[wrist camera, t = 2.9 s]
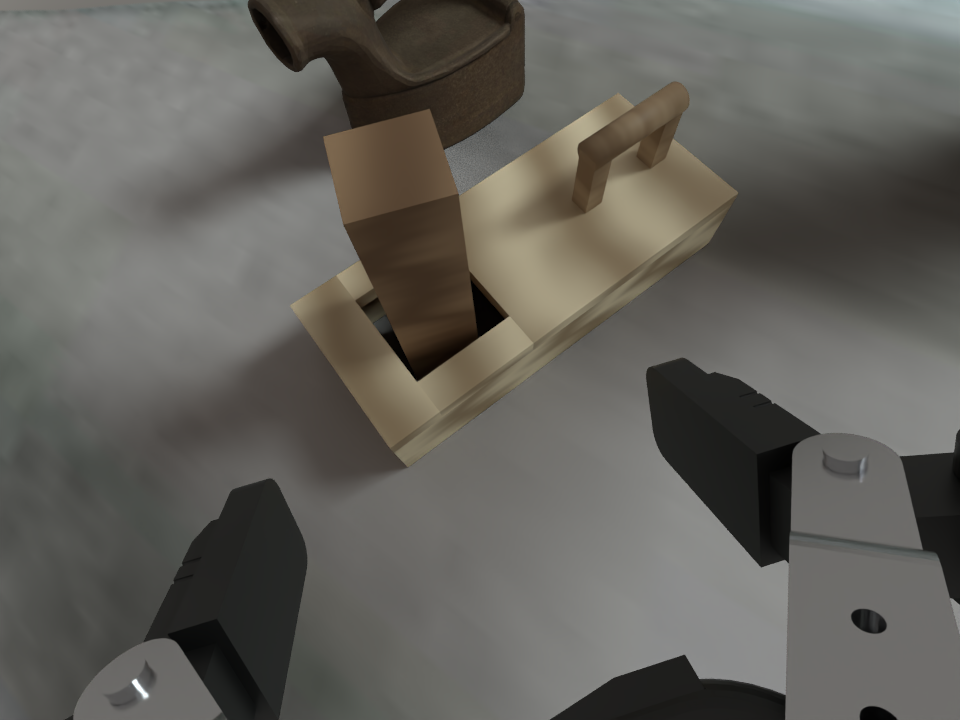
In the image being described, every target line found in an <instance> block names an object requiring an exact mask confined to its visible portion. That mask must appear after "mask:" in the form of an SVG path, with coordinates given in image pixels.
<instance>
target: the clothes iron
mask: <svg viewBox="0 0 960 720" xmlns="http://www.w3.org/2000/svg"><path fill="white" fill-rule="evenodd" d="M385 1H386V0H249V1H248V8H249V11H250V14H251V17H252V20H253V22H254V24H255V25H256V27H257V29H258V31H259V32H260V34H261V36H262V37H263V39H264V41H265V42H266V44H267V46H268V47H269V48H270V50H271V51H272V52H273V53H274V55H275V56H276V57H277V58H278V59H279V60H280V61H281V62H282V63H283V64H284V65H285V66H286V67H287V68H289V69H290V70H292V71H294V72H299V71H302V70H303V68H304V67H305V66H306V65H307V64H308V63H309V62H310V61H312V60H314V59H317V58H322V57H324V58H325V59H326V60H327V61H328V63H329V65H330V67H331V68H332V70H333V72H334V74H335V76H336V78H337V80H338V82H339V83H340V85H341V87H342V96H343V101H344V104H345V107H346V110H347V113H348V116H349V119H350V124H351V127H352V129H354V128H358V127H362V126H366V125H370V124H373V123H377V122H381V121H385V120H389V119H393V118H397V117H400V116H404V115H408V114H412V113H416V112H420V111H424V110H427V109H430V111H431V114H432V117H433V120H434V123H435V126H436V129H437V132H438V135H439V138H440V141H441V143H442V146H443V149H446V148H448V147H450V146H452V145H454V144H456V143H458V142H460V141H462V140H464V139H466V138H468V137H469V136H471V135H473V134H474V133H476V132H477V131H479V130H480V129H482V128H483V127H485V126H486V125H488V124H489V123H491V122H492V121H494V120H495V119H496V118H497V117H499V116H500V115H501V114H502V113H504V112H505V111H506V110H507V109H509V108H510V107H511V106H512V105H513V104H515V103H516V102H517V101H518V100H519V99H520V98H521V97H522V95H523V92H524V85H525V71H524V66H525V14H524V8H523V7H522V5H521V4H520V3H519V2H518V0H400V1H399V2H398V3H396V4H395V5H393V6H392V7H391V8H390V9H389V10H388V11H387V12H386V13H384V14H383V15H382V16H381V17H380V18H379V19H378V20H377V21H376V22H375V19H374V10H376V9H378V8H380V7H381V6H382V5H383V4H384V3H385Z"/></svg>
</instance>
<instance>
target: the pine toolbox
mask: <svg viewBox="0 0 960 720" xmlns="http://www.w3.org/2000/svg"><path fill="white" fill-rule="evenodd" d="M689 101H690V100H689V94H688V92H687V90H686V88H685V87H684V86H683V85H682V84H681V83H679V82H671V83H670V84H668V85H667V86H665V87H664V88H662V89H661V90H659V91H658V92H656V93H655V94H653V95H652V96H650V97H649V98H647V99H646V100H644V101H643V102H641V103H639V104H638V105H636V106H633V105H632V104H631V103H630V102H628V101H627V100H626V99H625V98H624V97H622V96H621V95H620V94H619V93H617V94H616V95H614V96H613V97H611V98H610V99H608V100H607V101H605V102H604V103H602V104H600V105H599V106H597V107H596V108H594V109H593V110H591V111H590V112H588V113H587V114H585V115H583V116H582V117H580V118H579V119H577V120H576V121H574V122H573V123H571V124H570V125H568V126H566V127H565V128H563V129H562V130H560V131H559V132H557V133H556V134H554V135H553V136H551V137H549V138H548V139H546V140H545V141H543V142H542V143H540V144H539V145H537V146H536V147H534V148H532V149H531V150H529V151H528V152H526V153H525V154H523V155H522V156H520V157H519V158H517V159H516V160H514V161H512V162H511V163H509V164H508V165H506V166H505V167H503V168H502V169H500V170H499V171H497V172H495V173H494V174H492V175H491V176H489V177H488V178H486V179H485V180H483V181H482V182H480V183H478V184H477V185H475V186H474V187H472V188H471V189H469V190H468V191H466V192H465V193H463V194H461V195H460V196H459V201H460V208H461V216H462V223H463V230H464V238H465V245H466V252H467V260H468V267H469V274H470V280H471V281H472V282H473V283H474V284H475V285H476V286H477V288H478V289H479V290H480V291H481V292H482V293H483V294H484V295H485V297H486V298H487V299H488V300H489V301H490V302H491V303H492V305H493V306H494V307H495V308H496V309H497V310H498V311H499V313H500V314H501V315H502V316H503V317H504V318H505V320H504V321H502V322H501V323H499V324H498V325H497V326H495V327H494V328H492V329H491V330H490V331H488V332H487V333H485V334H484V335H483V336H481V337H480V338H478V339H477V340H476V341H474V342H473V343H471V344H470V345H469V346H467V347H466V348H464V349H463V350H462V351H460V352H459V353H457V354H456V355H454V356H453V357H452V358H450V359H449V360H447V361H446V362H445V363H443V364H442V365H440V366H439V367H438V368H436V369H435V370H433V371H432V372H431V373H429V374H428V375H426V376H425V377H424V378H422V379H421V380H419V381H418V382H417V381H416V380H415V379H414V377H413V376H412V375H411V373H410V372H409V371H408V370H407V368H406V367H405V366H404V364H403V363H402V362H401V360H400V359H399V358H398V356H397V355H396V354H395V352H394V351H393V350H392V348H391V347H390V346H389V345H388V343H387V342H386V341H385V339H384V338H383V337H382V335H381V334H380V333H379V331H378V330H377V329H376V327H375V326H374V325H373V324H372V323H374V322H375V321H377V320H378V319H380V318H381V317H383V316H384V315H386V313H385V311H384V309H383V307H382V305H381V303H380V301H379V298H378V296H377V294H376V292H375V290H374V288H373V286H372V284H371V282H370V280H369V277H368V275H367V273H366V271H365V269H364V267H363V265H362V263H361V261H360V260H359V261H358V262H356V263H355V264H353V265H352V266H350V267H349V268H347V269H346V270H344V271H342V272H341V273H339V274H338V275H336V276H335V277H333V278H332V279H330V280H329V281H327V282H325V283H324V284H322V285H321V286H319V287H318V288H316V289H315V290H313V291H312V292H310V293H308V294H307V295H305V296H304V297H302V298H301V299H299V300H298V301H296V302H295V303H293V304H291V305H290V307H291V308H292V310H293V311H294V312H295V314H296V315H297V317H298V318H299V320H300V321H301V322H302V324H303V325H304V327H305V328H306V330H307V331H308V332H309V334H310V335H311V337H312V338H313V340H314V341H315V342H316V344H317V345H318V347H319V348H320V350H321V351H322V352H323V354H324V355H325V357H326V358H327V360H328V361H329V362H330V364H331V365H332V367H333V368H334V369H335V371H336V372H337V374H338V375H339V377H340V378H341V379H342V381H343V382H344V384H345V385H346V387H347V388H348V389H349V391H350V392H351V394H352V395H353V397H354V398H355V399H356V401H357V402H358V404H359V405H360V407H361V408H362V409H363V411H364V412H365V414H366V415H367V417H368V418H369V419H370V421H371V422H372V424H373V425H374V427H375V428H376V429H377V431H378V432H379V434H380V435H381V436H382V438H383V439H384V441H385V442H386V444H387V445H388V446H389V448H390V449H391V450H392V451H393V452H394V453H395V454H396V455H397V457H398V458H399V459H400V460H401V461H402V462H403V463H404V464H405V465H406V466H407V467H409V466H411V465H412V464H413V463H415V462H416V461H417V460H419V459H420V458H421V457H423V456H424V455H425V454H427V453H428V452H429V451H431V450H432V449H434V448H435V447H436V446H438V445H439V444H440V443H442V442H443V441H444V440H446V439H447V438H448V437H450V436H451V435H452V434H454V433H455V432H456V431H458V430H459V429H460V428H462V427H463V426H464V425H466V424H467V423H468V422H470V421H471V420H472V419H474V418H475V417H476V416H478V415H479V414H480V413H482V412H483V411H484V410H486V409H487V408H488V407H490V406H491V405H492V404H494V403H495V402H496V401H498V400H499V399H501V398H502V397H503V396H505V395H506V394H507V393H509V392H510V391H511V390H513V389H514V388H515V387H517V386H518V385H519V384H521V383H522V382H523V381H525V380H526V379H527V378H529V377H530V376H531V375H533V374H534V373H535V372H537V371H538V370H539V369H541V368H542V367H543V366H545V365H546V364H547V363H549V362H550V361H551V360H553V359H554V358H555V357H557V356H558V355H559V354H561V353H562V352H563V351H565V350H566V349H568V348H569V347H570V346H572V345H573V344H574V343H576V342H577V341H578V340H580V339H581V338H582V337H584V336H585V335H586V334H588V333H589V332H590V331H592V330H593V329H594V328H596V327H597V326H598V325H600V324H601V323H602V322H604V321H605V320H606V319H608V318H609V317H610V316H612V315H613V314H614V313H616V312H617V311H618V310H620V309H621V308H622V307H624V306H625V305H626V304H628V303H629V302H631V301H632V300H633V299H635V298H636V297H637V296H639V295H640V294H641V293H643V292H644V291H645V290H647V289H648V288H649V287H651V286H652V285H653V284H655V283H656V282H657V281H659V280H660V279H661V278H663V277H664V276H665V275H667V274H668V273H669V272H671V271H672V270H673V269H675V268H676V267H677V266H679V265H680V264H681V263H683V262H684V261H685V260H687V259H688V258H689V257H691V256H692V255H693V254H695V253H696V252H698V251H699V250H700V249H702V248H703V247H704V246H706V245H707V244H708V243H709V242H710V240H711V239H712V237H713V235H714V234H715V232H716V230H717V228H718V227H719V225H720V223H721V222H722V220H723V218H724V217H725V215H726V213H727V212H728V210H729V208H730V207H731V205H732V203H733V202H734V200H735V198H736V197H737V195H738V192H737V191H736V190H734V189H733V188H732V187H731V186H730V185H728V184H727V183H726V182H725V181H724V180H722V179H721V178H720V177H719V176H718V175H716V174H715V173H714V172H713V171H712V170H710V169H709V168H708V167H707V166H706V165H704V164H703V163H702V162H701V161H700V160H698V159H697V158H696V157H695V156H693V155H692V154H691V153H690V152H689V151H687V150H686V149H685V148H684V147H683V146H681V145H680V144H679V143H678V142H677V141H675V140H674V139H673V137H674V134H675V131H676V129H677V126H678V123H679V121H680V118H681V115H682V113H683V112H684V111H685V110H686V109H687V108H688V106H689Z"/></svg>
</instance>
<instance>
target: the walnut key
mask: <svg viewBox="0 0 960 720" xmlns="http://www.w3.org/2000/svg"><path fill="white" fill-rule="evenodd" d="M323 139H324V143H325V148H326V152H327V156H328V160H329V165H330V169H331V173H332V178H333V182H334V186H335V191H336V195H337V199H338V204H339V208H340V212H341V217H342V221H343V225H344V227H345V229H346V231H347V233H348V235H349V238H350V240H351V242H352V244H353V246H354V248H355V250H356V252H357V254H358V256H359V259H360V261H361V263H362V265H363V267H364V269H365V271H366V273H367V275H368V277H369V280H370V282H371V284H372V286H373V288H374V290H375V292H376V294H377V296H378V298H379V301H380V303H381V305H382V307H383V309H384V311H385V313H386V315H387V317H388V319H389V322H390V324H391V326H392V328H393V330H394V332H395V334H396V336H397V338H398V340H399V343H400V345H401V347H402V349H403V351H404V353H405V355H406V357H407V359H408V362H409V364H410V366H411V368H412V370H413V372H414V374H415V376H416V378H417V380H418V381H419V380H421V379H422V378H424V377H425V376H426V375H428V374H429V373H431V372H432V371H433V370H435V369H436V368H438V367H439V366H440V365H442V364H443V363H445V362H446V361H447V360H449V359H450V358H452V357H453V356H454V355H456V354H457V353H459V352H460V351H462V350H463V349H464V348H466V347H467V346H469V345H470V344H471V343H473V342H474V341H476V340H477V339H478V333H477V326H476V318H475V311H474V304H473V296H472V289H471V282H470V274H469V267H468V260H467V252H466V245H465V238H464V230H463V223H462V216H461V208H460V201H459V194H458V191H457V188H456V185H455V182H454V179H453V176H452V173H451V170H450V167H449V164H448V161H447V158H446V155H445V152H444V149H443V146H442V143H441V141H440V138H439V135H438V132H437V129H436V126H435V123H434V120H433V117H432V114H431V111H430V109H427V110H424V111H420V112H416V113H412V114H408V115H404V116H400V117H397V118H393V119H389V120H385V121H381V122H377V123H373V124H370V125H366V126H362V127H358V128H354V129H350V130H347V131H343V132H339V133H335V134H331V135H327V136H323Z"/></svg>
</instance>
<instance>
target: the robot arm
mask: <svg viewBox="0 0 960 720" xmlns="http://www.w3.org/2000/svg"><path fill="white" fill-rule="evenodd" d="M646 380H647V388H648V396H649V404H650V412H651V419H652V427H653V433H654V437H655V441H656V443H657V446H658V448H659V450H660V452H661V454H662V455H663V457H664V458H665V460H666V461H667V462H668V463H669V464H670V465H671V466H672V467H673V469H674V470H675V471H676V472H677V473H678V474H679V475H680V476H681V478H682V479H683V480H684V481H685V482H686V483H687V484H688V486H689V487H690V488H691V489H692V490H693V491H694V492H695V493H696V495H697V496H698V497H699V498H700V499H701V500H702V501H703V502H704V504H705V505H706V506H707V507H708V508H709V509H710V510H711V511H712V513H713V514H714V515H715V516H716V517H717V518H718V519H719V520H720V522H721V523H722V524H723V525H724V526H725V527H726V528H727V530H728V531H729V532H730V533H731V534H732V535H733V536H734V537H735V539H736V540H737V541H738V542H739V543H740V544H741V545H742V546H743V548H744V549H745V550H746V551H747V552H748V553H749V554H750V555H751V557H752V558H753V559H754V560H755V561H756V562H757V563H758V564H759V566H760V567H764V566H767V565H770V564H773V563H776V562H779V561H782V560H786V561H787V562H788V563H789V582H788V625H787V667H786V695H784V694H781V693H778V692H776V691H773V690H771V689H767V688H764V687H760V686H757V685H753V684H749V683H744V682H738V681H733V680H722V679H699V678H698V676H697V675H696V673H695V671H694V669H693V668H692V666H691V664H690V663H689V661H688V659H687V657H686V656H685V655H682V656H679V657H676V658H673V659H670V660H667V661H664V662H661V663H658V664H655V665H652V666H649V667H646V668H643V669H640V670H637V671H634V672H631V673H627V674H624V675H621V676H618V677H615V678H613V679H611V680H610V681H608V682H607V683H605V684H604V685H602V686H601V687H599V688H598V689H596V690H595V691H593V692H592V693H590V694H589V695H587V696H585V697H584V698H582V699H581V700H579V701H578V702H576V703H575V704H573V705H572V706H570V707H569V708H567V709H566V710H564V711H563V712H561V713H560V714H558V715H557V716H555V717H553V718H552V719H550V720H960V635H959V631H958V627H957V624H956V620H955V616H954V612H953V608H952V605H951V601H950V598H953V599H954V600H955V601H956V602H957V603H958V604H960V430H959V431H958V433H957V435H956V442H955V450H954V453H941V454H928V455H915V456H898V455H897V453H896V452H894V451H893V450H892V449H891V448H889V447H888V446H886V445H885V444H882V443H880V442H878V441H876V440H873V439H870V438H867V437H863V436H859V435H854V434H845V433H827V434H820V433H819V432H817V431H816V430H814V429H813V428H811V427H810V426H808V425H807V424H805V423H804V422H802V421H801V420H799V419H798V418H796V417H795V416H793V415H792V414H790V413H789V412H787V411H786V410H784V409H783V408H781V407H780V406H778V405H777V404H775V403H774V404H772V402H771V400H769V399H768V398H766V397H765V396H763V395H762V394H760V393H759V394H757V391H756V390H754V389H753V388H751V387H750V386H748V385H747V384H745V383H744V382H742V381H741V380H739V379H736V378H733V377H729V376H726V375H723V374H719V373H716V372H714V373H711V374H707V373H705V372H704V371H703V370H701V369H700V368H698V367H697V366H696V365H694V364H693V363H691V362H690V361H689V360H687V359H685V358H679V359H676V360H673V361H669V362H666V363H662V364H659V365H656V366H652V367H649V368H648V369H647V373H646ZM182 564H183V566H181V567H180V568H179V570H178V572H177V574H176V576H175V578H174V584H172V585H171V587H170V589H169V591H168V593H167V595H166V597H165V599H164V601H163V603H162V605H161V607H160V609H159V611H158V613H157V615H156V617H155V619H154V622H153V624H152V626H151V628H150V630H149V632H148V634H147V636H146V638H145V640H144V642H143V643H141V644H139V645H137V646H135V647H133V648H131V649H129V650H128V651H126V652H124V653H123V654H121V655H120V656H118V657H117V658H116V659H114V660H113V661H112V662H110V663H109V664H108V665H107V666H106V667H105V668H103V669H102V670H101V671H100V672H99V673H98V674H97V675H96V676H95V677H94V679H93V680H92V681H91V682H90V683H89V685H88V686H87V687H86V689H85V690H84V692H83V693H82V695H81V696H80V698H79V700H78V702H77V704H76V707H75V710H74V715H72V716H71V717H69V718H67V719H65V720H279V715H280V710H281V704H282V699H283V694H284V688H285V683H286V678H287V672H288V667H289V661H290V656H291V651H292V645H293V640H294V635H295V629H296V624H297V618H298V613H299V608H300V602H301V597H302V592H303V586H304V581H305V575H306V570H307V551H306V546H305V542H304V539H303V537H302V534H301V532H300V530H299V528H298V526H297V524H296V522H295V520H294V517H293V515H292V513H291V511H290V509H289V507H288V505H287V503H286V501H285V499H284V496H283V494H282V492H281V490H280V488H279V486H278V485H277V483H276V482H275V481H274V480H273V479H266V480H263V481H259V482H256V483H252V484H249V485H246V486H242V487H239V488H235V489H233V490H232V491H231V492H230V494H229V497H228V499H227V501H226V503H225V506H224V508H223V510H222V512H221V515H220V517H219V519H217V520H213V521H211V522H210V523H209V524H208V525H207V526H206V527H205V528H204V530H203V531H202V532H201V533H200V534H199V535H198V536H197V537H196V538H195V539H194V541H193V542H192V543H191V545H190V547H189V550H188V552H187V554H186V556H185V558H184V560H183V562H182Z"/></svg>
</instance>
